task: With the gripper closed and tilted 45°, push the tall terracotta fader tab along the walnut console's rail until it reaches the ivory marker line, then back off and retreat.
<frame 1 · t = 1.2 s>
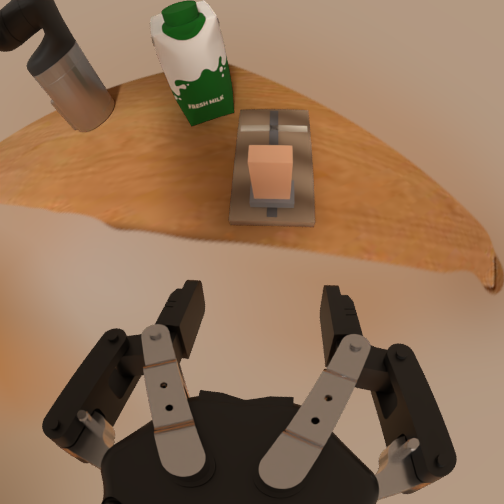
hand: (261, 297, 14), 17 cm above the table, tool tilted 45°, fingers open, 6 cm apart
fader: (271, 177, 28), point 6 cm above the table, slide at 0.0 cm
console: (273, 163, 35), on the table
milk carton: (208, 106, 40), on the table
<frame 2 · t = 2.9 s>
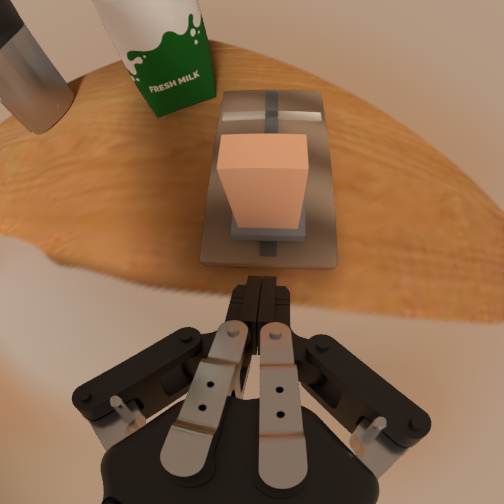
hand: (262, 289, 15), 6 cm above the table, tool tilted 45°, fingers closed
fader: (266, 193, 16), point 6 cm above the table, slide at 0.0 cm
console: (271, 167, 23), on the table
milk carton: (182, 91, 28), on the table
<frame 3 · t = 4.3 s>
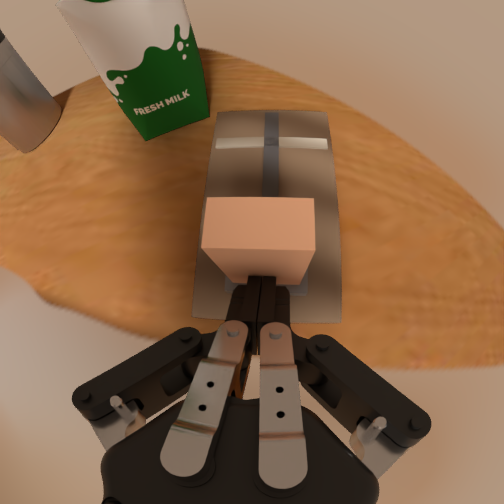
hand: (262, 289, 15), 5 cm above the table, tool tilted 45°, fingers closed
fader: (264, 254, 14), point 6 cm above the table, slide at 0.2 cm, touching gripper
console: (270, 204, 21), on the table
milk carton: (173, 109, 26), on the table
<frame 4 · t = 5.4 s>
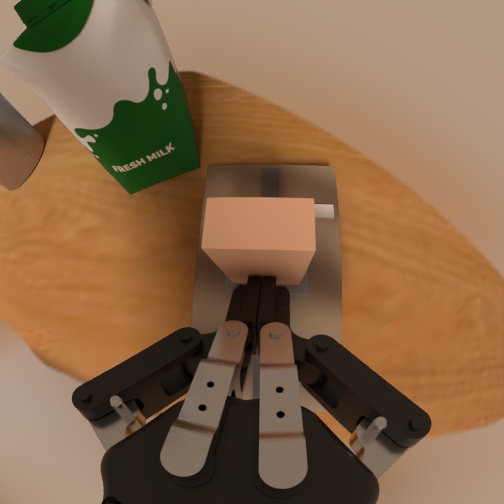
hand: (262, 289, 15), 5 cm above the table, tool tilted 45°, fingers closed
fader: (264, 254, 14), point 6 cm above the table, slide at 6.4 cm, touching gripper
console: (268, 283, 20), on the table
milk carton: (160, 153, 24), on the table
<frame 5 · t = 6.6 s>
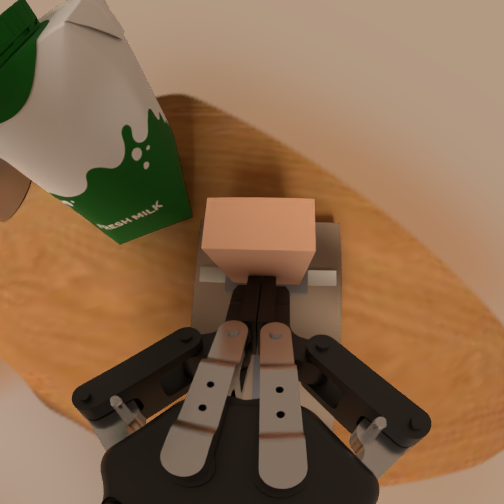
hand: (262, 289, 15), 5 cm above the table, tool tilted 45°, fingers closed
fader: (264, 254, 14), point 6 cm above the table, slide at 11.3 cm, touching gripper
console: (265, 350, 18), on the table
milk carton: (149, 196, 23), on the table
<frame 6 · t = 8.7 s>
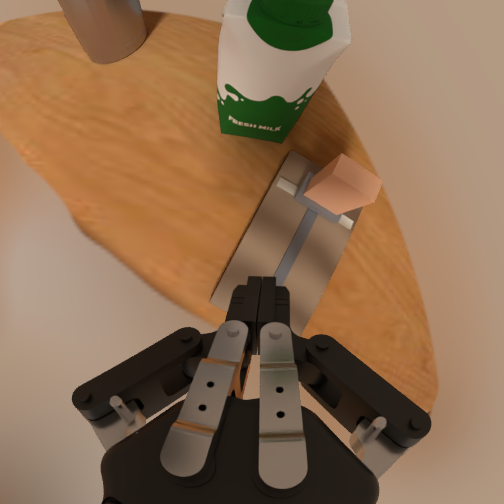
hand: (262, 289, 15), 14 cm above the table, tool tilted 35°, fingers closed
fader: (336, 189, 23), point 6 cm above the table, slide at 11.5 cm
console: (291, 246, 29), on the table
milk carton: (255, 112, 29), on the table
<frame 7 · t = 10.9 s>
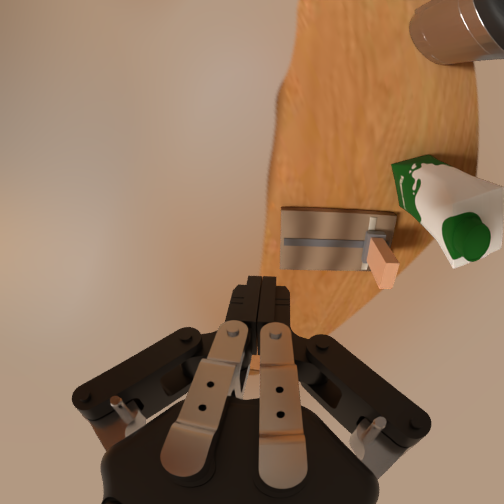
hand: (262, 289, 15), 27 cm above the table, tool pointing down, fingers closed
fader: (380, 259, 36), point 6 cm above the table, slide at 11.5 cm
console: (337, 238, 42), on the table
milk carton: (414, 179, 36), on the table
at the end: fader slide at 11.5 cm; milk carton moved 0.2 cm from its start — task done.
